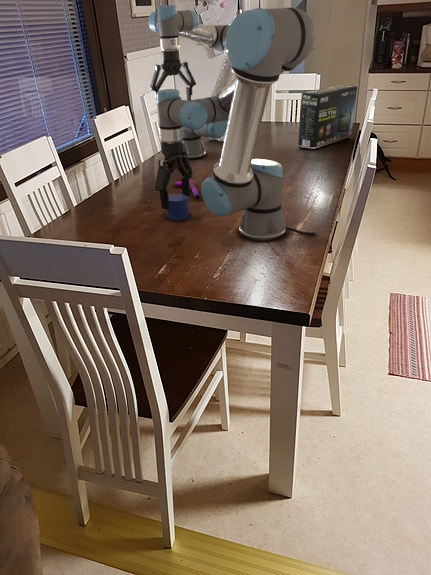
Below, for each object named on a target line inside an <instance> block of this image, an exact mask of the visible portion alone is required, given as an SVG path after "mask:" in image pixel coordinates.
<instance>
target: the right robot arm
mask: <svg viewBox="0 0 431 575" xmlns="http://www.w3.org/2000/svg"><path fill="white" fill-rule="evenodd" d="M229 25H230V27H229V29H228V32H227V36H226V50H227V51H228V53H227V57H228V60H229V62H230V63H231V64H232V71H233V73H234V74H235V76H236V77H235V78H234V79H233V80H232V81H231V82H230V83H229V84H228V85H227V86H226V87H225V88H224V89H223V90H222V91H220V92H219V93H218V94H217V95H216V96H213V97H211V96H207V97H201V98H195V99H191V100H187V99H183V98H182V95H181V91H180V90H179V89H177V88H164V89H159V91H158V92H157V100H156V109H157V120H158V130H159V139H160V140H159V141H160V152H161V154H162V155H163V156H164V157H163V159H159V160H158V161H157V162H158V168H157V174H156V180H155V186H154V191H157V192H159V200H160V206H161V209H163V210H166V211H167V210H169V198H168V196H169V190H167V189H168V185H169V183H170V181H171V180H170V179H171V177H172V174H174V171H175V170H176V169H177V170H178V172H179V173H180V175H181V176H182V177H180V178H181V182H182V186H181V192H182V193H181V194H184V195H186V196H187V197H191V191H190V187H189V180H190V179H193V169H192V166H191V164H190V161H189V159H188V158H187V152H186V151H184V146H183V141H182V139H183V129H182V126H183V127H186V128H188V129H195V130H196V129H200V128H202V127H203V126H204V125H205V124H209V123H214V122H219V121H226V120H228V123H227V128H226V134H225V139H224V141H223V144H222V150H221V155H220V160H219V161H217V162H216V163H214V165H213V166H212V172H211V176H210V177H206V178H205V179H204V180H203V181H202V183H201V189H200V190H201V196H202V198H203V202H204V204H205V206H206V208H207V209H208V210H209V212H210V213H211V214H213V215H214V216H216V217H219V218H220V217H225V216H230V215H231V216H232V215H233V214H235V213H239V212H242V211H243V213H242V214H241V217H240V218H241V220H240V222H239V225H238V232H239V235H240V236H241V237H242V238H244V239H247V240H250V241H254V242H271V241H277V240H279V239H281V238H283V237H285V235H286V234H287V231H290V232H293V233H296V234H301V235H303V236H305V235H306V236H316V232H315V231H303V230H299V229H296V228H292V227H289V226H287V223H286V221H285V216H284V214H283V210H282V200H283V183H284V174H283V173H284V172H283V171H284V169H283V166H282V164H281V163H280V162H278V161H274V160H270V159H262V158H254V153H255V150H256V146H257V142H258V139H259V138H258V137H259V134H260V131H261V130H260V129H261V125H262V122H263V118H264V114H265V110H266V106H267V101H268V98H269V94H270V90H271V86H272V85H273V84H275V83H276V82H277V81H279V79H280V76H281V75H282V74H283V73H284V72H292V71H294V69H295V68H297V67H298V66H299V65H300V64H302V63H303V62H304V61H305V60H306V59H307V58H308V57H309V55H310V54H311V53H312V51H313V49H314V47H315V43H316V36H317V33H316V32H317V31H316V26H315V23H314V21H313V20H312V18H311V15H309V14H308V13H306V11H304V10H303V9H300V8H297V7H278V8H276V7H275V8H273V7H272V8H262V7H256V8H253V9H247V10H244V11H242V12H240V13H239V14H237V15H236V16H234V18H233V19H232V21H231V22H230V24H229Z"/></svg>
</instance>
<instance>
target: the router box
mask: <svg viewBox="0 0 431 575" xmlns="http://www.w3.org/2000/svg"><path fill="white" fill-rule="evenodd" d="M357 93H358V86H356V85H350V84H339V85H338V84H337V85H334V86H328V87H324V88H318V89H314V90H309V91H304V92H301V93H300V109H299V110H300V111H299V124H298V137H297V146H298V145H302V146H307V147H317V146H320V145H323V144H325V143H328V142H331V141H333V140H336V139H338V138H341V137H344V136H347V135H351V136H352V133H353V132H352V131H353V125H354V115H355V109H356V99H357ZM311 151H313V150H312V149H311Z"/></svg>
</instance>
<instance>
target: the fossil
mask: <svg viewBox="0 0 431 575" xmlns="http://www.w3.org/2000/svg"><path fill="white" fill-rule="evenodd" d="M225 134H226V133H225ZM225 134H224V135H223V136H222V137H220V138H209V137H208V139H209V140H210V141H217V140H218V141H217V142H224V139H225Z"/></svg>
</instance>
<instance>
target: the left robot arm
mask: <svg viewBox="0 0 431 575" xmlns="http://www.w3.org/2000/svg"><path fill="white" fill-rule="evenodd" d="M147 22H148V27H149V29H150V30H151V31H152V32H154V33H159V44H160V50H161V52H160V54H161V55H160V56H161V64H157V63H156V64H154V73H153V75H152V79H151V82H150V85H149V90H151V91H153V92H154V99H155V100H156V101H157V92H158V91H160V90H161V87H162V86H163V84H164V82H165V81H166V79H167V77H170V76H177V75H178V77H179V78H180V79H181V80H182V81H183V83H184V84H185V85H186V87H185V93H186V100H192V96H193V88H194V86H196V85H197V82H196V80H195V78H194V75H193V74H192V72H191V70H190V68H189V64H188V62H187V61H182V62H181V52H180V50H179V49H180V38H183V39H186V40H190V41H193V42H197V43H201V44H202V45H203V46H204V47H206V48H209V49H212V50H215V51H218V52H222V53H224V58H223V60H222V63H221V66H220V69H219V72H218V75H217V77H216V80H215V84H214V86H213V89H212V91H211V92H212V93H211V95H210V97H213V96H216V95H217V94H218V93H219V92H220V91H222V90H223V89H224V88H225V87H226V86H227V85H228V84H229V83H230V82H231V81H232V80H233V79H234V78H235V77H236V76H235V74H234V73H233V71H232V64H231V63H230V62H229V60H228V57H227V53H228V51H227V50H226V36H227V32H228V29H229V27H230V24H223V25H216V24H215V25H214V24H211V23H209V24H203V23H200V17H199V15H198V13H197V12H196V11H195V10H193V9H192V10H191V9H186V10H178V9H177V5H174V4H170V5H168V4H167V5H159V6H158V7H157V11H153V12H151V13H150V14H149V16H148V21H147ZM182 68H183V70H184V73H185V74H184V73H183V71H181V69H182ZM162 70H163V72H162V73H161V71H162ZM160 73H161V75H160ZM185 75H186V76H185ZM159 76H160V77H159ZM227 123H228V120H226V121H219V122H214V123H209V124H205V125H204V126H203V127H202V128H200V129H196V130H195V129H188V128H186V127H183V126H182V129H183V139H182V141H183V146H184V151H186V152H187V158H188V160H196V159H201V158H204V157H205V156H206V155H207V149H206V148H205V145H204V143H203V142H204V141H203V140H202V138H208V139H209V138H220V137H222V136H223V135H224V134H225V133H226V128H227Z"/></svg>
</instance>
